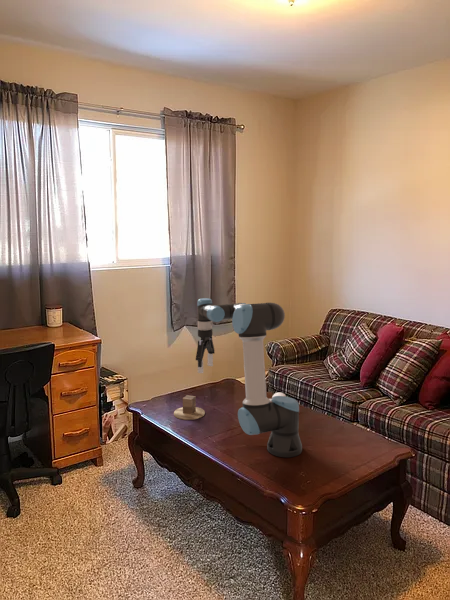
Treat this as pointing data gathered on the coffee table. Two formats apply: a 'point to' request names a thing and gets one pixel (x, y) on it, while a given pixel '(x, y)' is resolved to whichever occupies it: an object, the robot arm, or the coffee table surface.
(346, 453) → the coffee table surface
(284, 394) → the mug
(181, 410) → the plate
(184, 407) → the block
